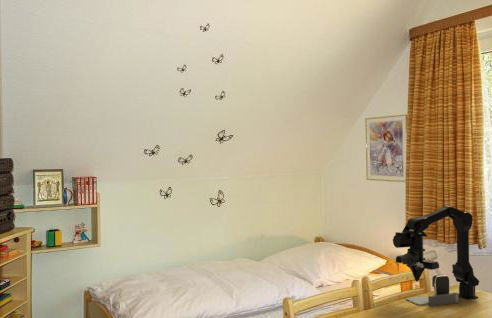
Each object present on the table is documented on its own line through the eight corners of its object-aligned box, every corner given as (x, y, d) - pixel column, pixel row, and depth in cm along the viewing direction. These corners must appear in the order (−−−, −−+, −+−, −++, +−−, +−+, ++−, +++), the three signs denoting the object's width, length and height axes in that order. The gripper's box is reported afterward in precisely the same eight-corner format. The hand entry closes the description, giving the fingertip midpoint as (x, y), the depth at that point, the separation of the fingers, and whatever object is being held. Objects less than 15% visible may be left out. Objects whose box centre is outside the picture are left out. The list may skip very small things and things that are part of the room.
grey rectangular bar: (455, 301, 188) (455, 292, 188) (459, 302, 186) (459, 293, 186) (428, 304, 183) (427, 295, 184) (431, 306, 181) (431, 297, 182)
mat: (423, 297, 195) (423, 296, 195) (437, 303, 186) (437, 301, 186) (405, 299, 192) (405, 298, 192) (419, 305, 183) (419, 304, 183)
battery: (444, 298, 193) (443, 273, 194) (450, 300, 190) (449, 275, 190) (431, 299, 191) (430, 274, 192) (437, 302, 188) (436, 276, 188)
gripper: (387, 245, 193) (388, 279, 192) (423, 251, 177) (424, 289, 177) (403, 242, 199) (403, 275, 198) (439, 249, 183) (440, 284, 183)
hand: (417, 281), depth 189 cm, fingers closed
